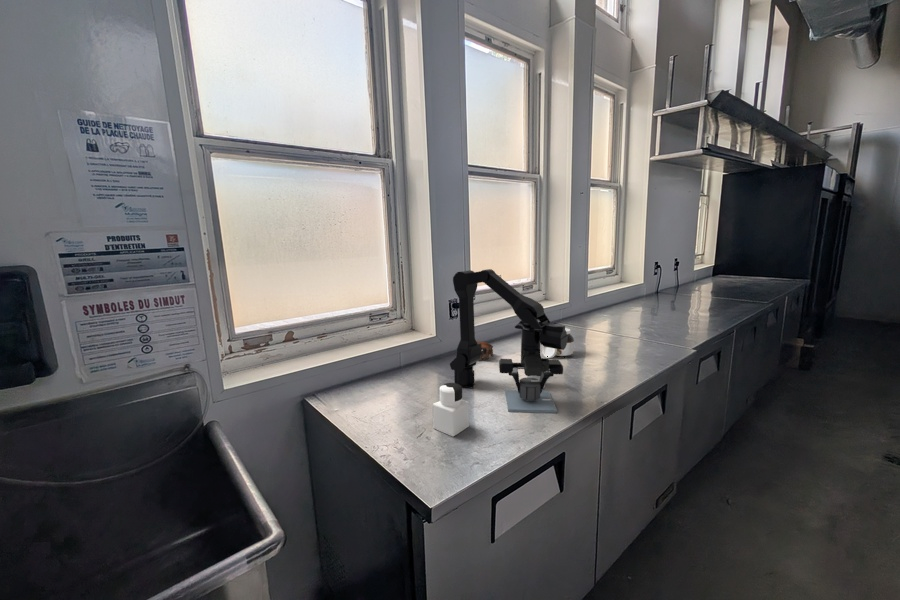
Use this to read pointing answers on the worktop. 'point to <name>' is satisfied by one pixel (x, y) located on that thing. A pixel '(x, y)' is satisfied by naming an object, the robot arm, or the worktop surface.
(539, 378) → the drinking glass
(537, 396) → the knob
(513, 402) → the base plate
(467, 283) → the robot arm
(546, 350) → the spread jar
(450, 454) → the worktop surface
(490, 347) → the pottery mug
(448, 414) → the medicine bottle
